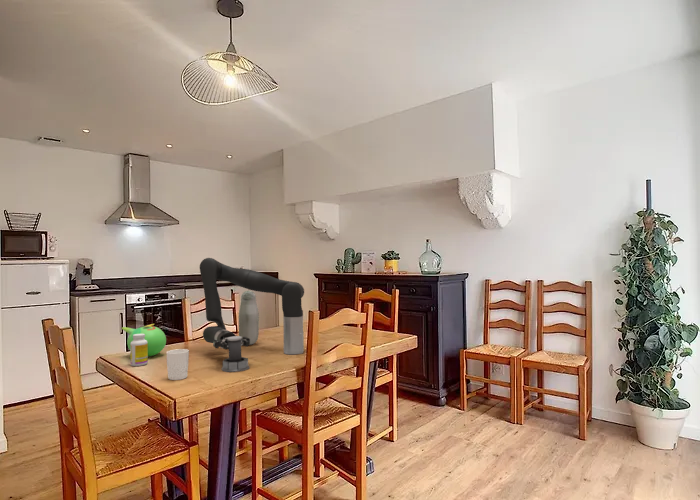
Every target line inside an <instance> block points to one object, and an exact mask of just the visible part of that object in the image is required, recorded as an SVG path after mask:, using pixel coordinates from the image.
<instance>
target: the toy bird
mask: <svg viewBox="0 0 700 500" xmlns="http://www.w3.org/2000/svg"><path fill="white" fill-rule="evenodd" d="M154 325H155V323H151V324H148V325H143V326H140V327H137V328H133V327H132V328H131V327H128V326H127V327H125V326H124V327H123V326H122V327H121V329H122V330H123V332H125V333H127V334H129V335H128V337H127V340H126V342H127V343H126V344H127V348H128V350H129V351H130V343H131V342H132V341H133V335H134V334H145V338H144V339H145V340H147V342H148V357H153V356H155V355H157V354H160V353H161V352H162V351H163V350H164V349H165V347H166V344H167V336H166V334H165V332H164V331H163V330H162V329H161V328H159V327H157V326H154Z"/></svg>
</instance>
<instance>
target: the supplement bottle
mask: <svg viewBox="0 0 700 500" xmlns="http://www.w3.org/2000/svg"><path fill="white" fill-rule="evenodd" d="M144 338H145V334H134V335H133V341H132V342H131V343H130V350H129V351H130V353H129V354H130V355H129V356H130V357H129V358H130V366H131V367H141V366H145V365H147V364H148V361H149V359H148V342H147V340H145V339H144Z"/></svg>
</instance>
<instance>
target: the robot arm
mask: <svg viewBox="0 0 700 500" xmlns="http://www.w3.org/2000/svg"><path fill="white" fill-rule="evenodd" d="M199 273H200V276H201V281H202V286H203V293H204V302H205V304H204V305H205V316H206V317H205V318H206V321H207V322H213V323H215V324H216V325H213V326H206V327H205V328H204V329H203V331H202V338H203V340H205V342H207V343H209V344H212V345H213V347H214V348H215V349H219V348H220V349H223V350H229V348H228V340H227V338H228V337H232V336H237V335H236V334H235V333H234V332H232V331H231V330H228V329H227V328H226V326H225V323H224V320H223V316H222V315H223V314H222V303H221V299H220V294H219V291H218V285H217V280H218V281H223V282H228V283H230V284H234V285H236V286H239V287H240V288H244V289H247V290H249V291H252V292H258V293H268V294H275V295H278V296H281V308H282V312H283V313H282V314H283V315H282V316H283V317H282V318H283V320H282V321H283V328H282V329H283V354H285V355H300V354H304V352H305V351H304V349H305V347H304V339H305V338H304V337H305V336H304V334H305V333H304V310H303V308H302V307H303V306H302V298H303V297H304V295H305V289H304V287H303V285H302V284H301V283H299V282H298V281H297V282H296V281H289V280H284V279H279V278H276V277H274V276H271V275H268V274H266V273H262V272H260V271H255V270H253V269H249V268H248V269H247V268H239V267H238V268H237V267H232V266H229V265H226V264H224V263H221V262H220V261H218V260H216V259H215V258H212V257H206V258H203V259H202V261H201V262H200V264H199ZM242 342H243V343H242ZM249 344H250V338H247V337H243V339H241V347H242V346H245V347H248V346H250V345H249Z"/></svg>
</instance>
